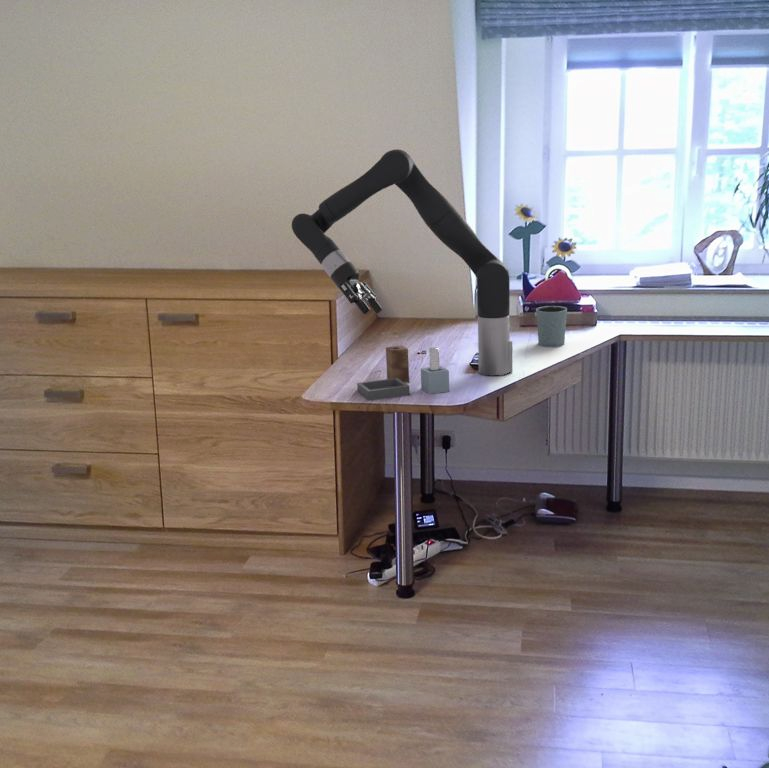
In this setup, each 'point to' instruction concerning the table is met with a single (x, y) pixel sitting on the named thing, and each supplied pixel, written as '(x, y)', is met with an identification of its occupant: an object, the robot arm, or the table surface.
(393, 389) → the tray
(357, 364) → the table surface
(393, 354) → the walnut block
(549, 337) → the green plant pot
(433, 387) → the square socket block
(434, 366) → the cylinder
